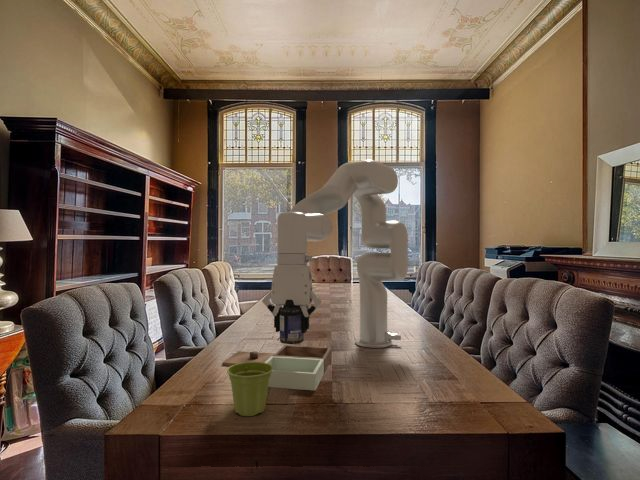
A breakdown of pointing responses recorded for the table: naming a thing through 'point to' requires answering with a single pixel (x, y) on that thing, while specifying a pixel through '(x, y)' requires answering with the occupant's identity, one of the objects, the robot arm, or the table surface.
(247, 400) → the plant pot
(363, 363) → the table surface
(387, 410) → the table surface
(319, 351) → the walnut box
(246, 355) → the walnut lid
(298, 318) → the pill bottle
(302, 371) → the sage box
